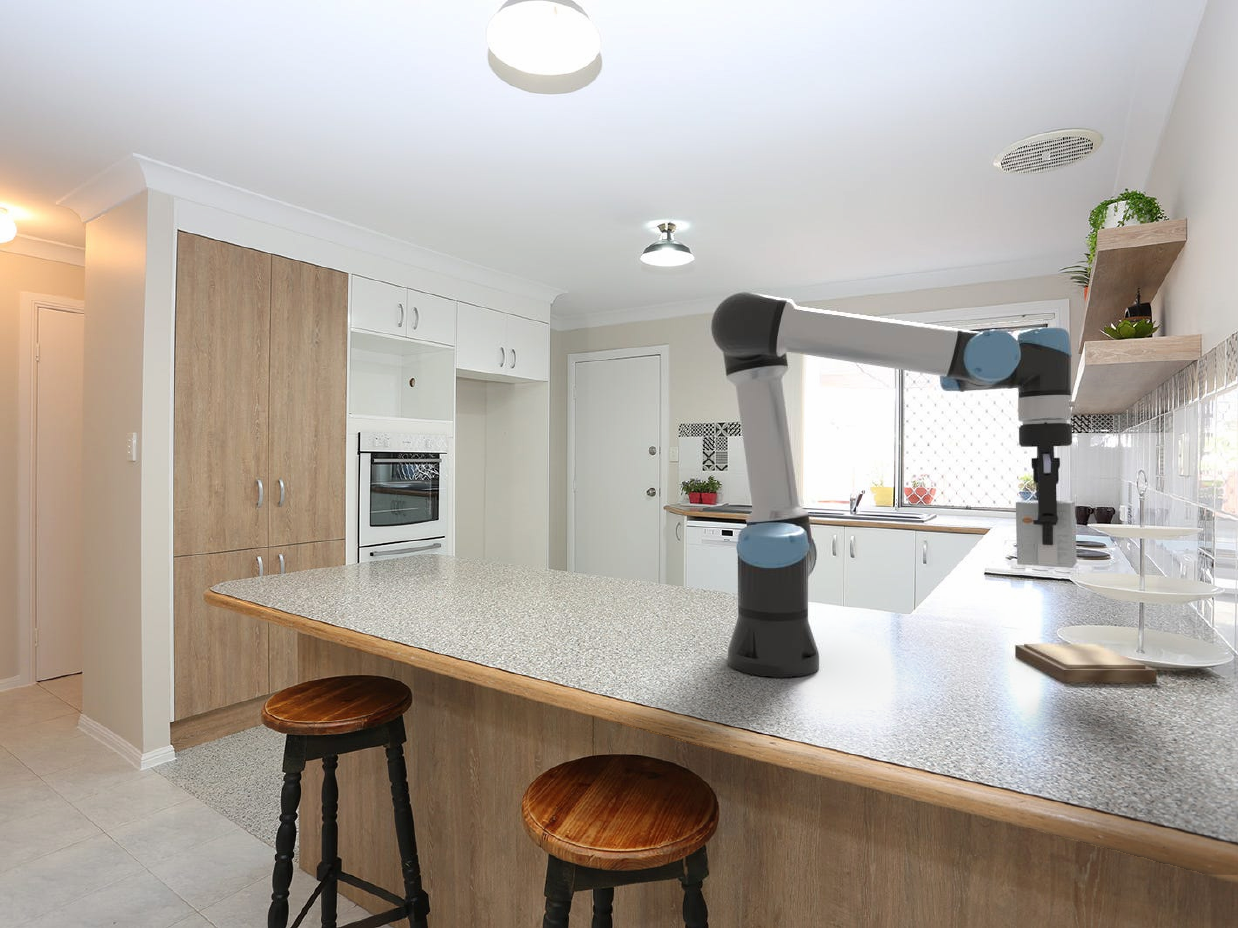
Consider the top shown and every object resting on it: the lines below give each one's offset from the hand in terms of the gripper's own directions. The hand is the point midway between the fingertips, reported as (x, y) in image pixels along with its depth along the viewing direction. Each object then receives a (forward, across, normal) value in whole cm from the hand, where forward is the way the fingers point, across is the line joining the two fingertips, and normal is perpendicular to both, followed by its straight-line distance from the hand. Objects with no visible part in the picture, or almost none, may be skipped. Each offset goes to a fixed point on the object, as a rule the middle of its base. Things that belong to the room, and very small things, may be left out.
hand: (1046, 561), depth 115 cm
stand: (+18, +1, -5) cm, 18 cm away
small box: (+1, 0, 0) cm, 1 cm away
